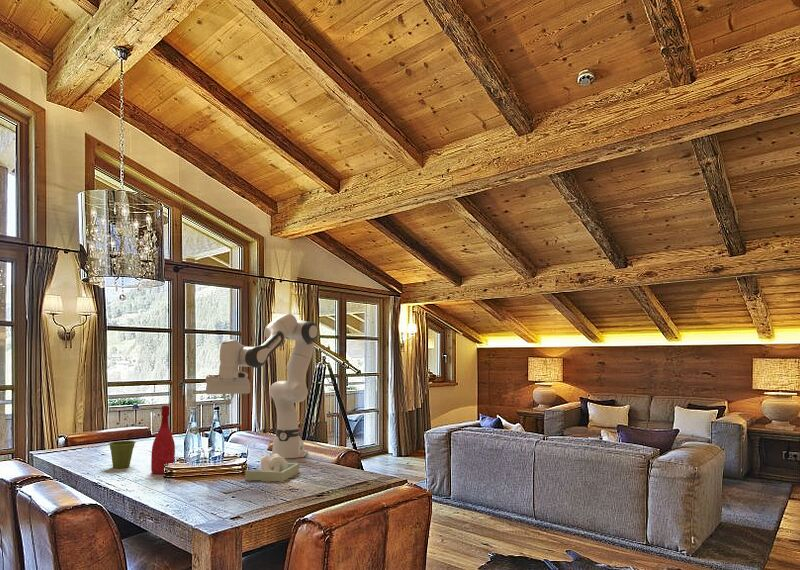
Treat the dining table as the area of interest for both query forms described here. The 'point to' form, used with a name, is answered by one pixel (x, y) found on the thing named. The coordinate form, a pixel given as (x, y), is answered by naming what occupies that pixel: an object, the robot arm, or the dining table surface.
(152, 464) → the wine bottle
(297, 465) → the frame
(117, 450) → the plant pot
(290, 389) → the robot arm
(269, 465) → the cream lumpy rounded piece
